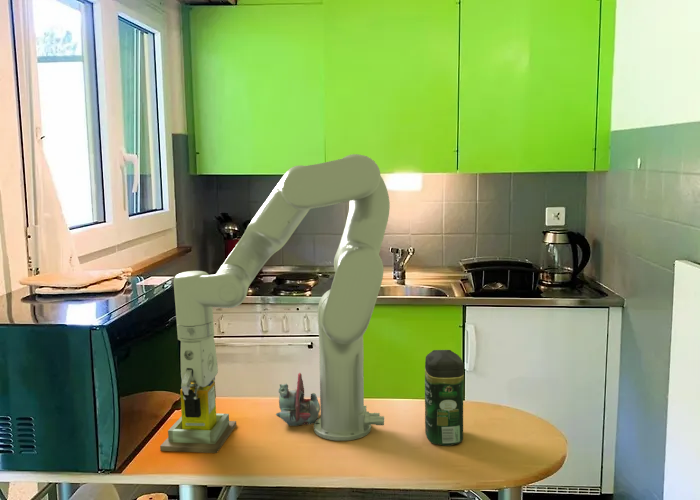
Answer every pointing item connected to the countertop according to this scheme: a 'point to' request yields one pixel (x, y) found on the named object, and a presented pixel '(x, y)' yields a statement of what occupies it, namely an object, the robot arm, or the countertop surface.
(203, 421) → the supplement box
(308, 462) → the countertop surface
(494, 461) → the countertop surface
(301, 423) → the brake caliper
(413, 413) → the countertop surface
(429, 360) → the coffee jar
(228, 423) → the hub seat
